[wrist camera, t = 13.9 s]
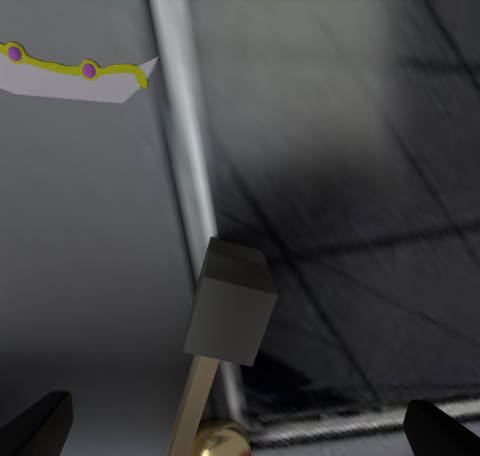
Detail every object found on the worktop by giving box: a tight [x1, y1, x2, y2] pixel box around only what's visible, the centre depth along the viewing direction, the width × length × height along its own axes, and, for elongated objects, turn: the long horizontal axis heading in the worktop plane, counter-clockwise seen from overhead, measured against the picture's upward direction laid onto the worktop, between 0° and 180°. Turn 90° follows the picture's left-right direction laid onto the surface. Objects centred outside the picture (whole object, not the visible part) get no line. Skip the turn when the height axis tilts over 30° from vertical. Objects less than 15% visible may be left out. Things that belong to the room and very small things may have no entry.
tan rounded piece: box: [189, 418, 251, 456], centre depth 19 cm, size 4×4×2 cm
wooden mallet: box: [164, 237, 278, 456], centre depth 16 cm, size 3×17×5 cm, turn 164°
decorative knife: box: [0, 42, 159, 103], centre depth 13 cm, size 12×1×5 cm
